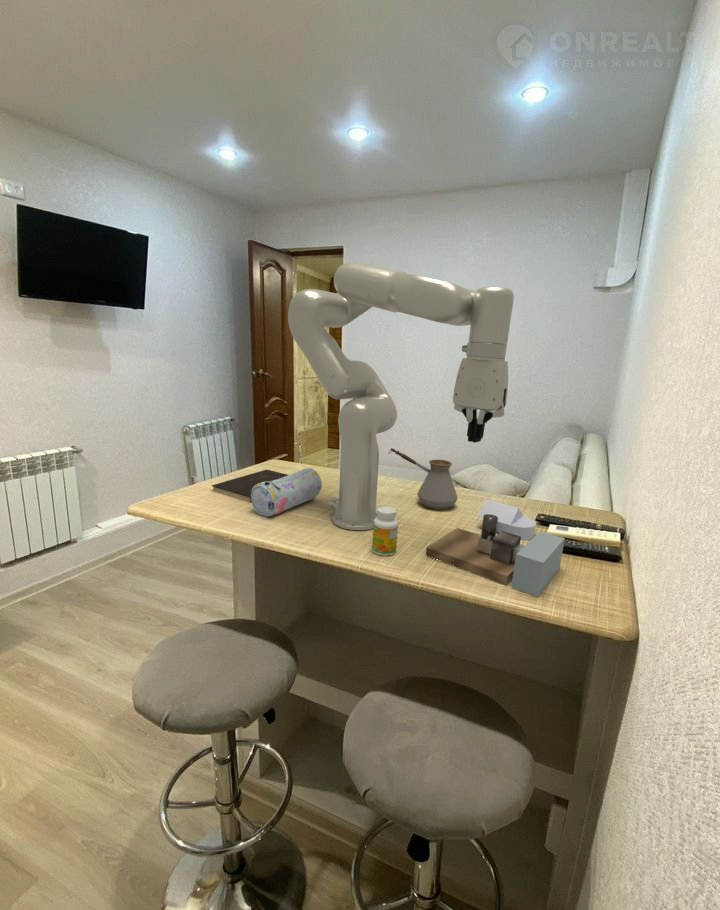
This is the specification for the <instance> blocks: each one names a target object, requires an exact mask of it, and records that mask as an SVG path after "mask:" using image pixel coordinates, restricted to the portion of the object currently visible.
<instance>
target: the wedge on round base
mask: <svg viewBox="0 0 720 910" xmlns="http://www.w3.org/2000/svg"><path fill="white" fill-rule="evenodd" d="M485 514H491V515H495V516H497V517H498V522H497V530H496V533H498V534H499V533H501V532H502V531H504V532H507V533H511V534H514V535H518V536H521V540H520V541H531V540H532V539H533V537H535V533H536V526H537V522H536V521H535V520H534V519H533V518H531V517H528V516H526V515H523V513H522V511H521V510H520V507H517V506H515V505H514V506H513V505H511V504H510V505H509V504H505V503H502V502H498V501H493V500H490V499H487V498H486V499H485V501H484V503H483V505H482V506H481V509H480V510H479V513H478V514H477V516H478V517H479V518H483V516H484V515H485Z"/></svg>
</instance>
